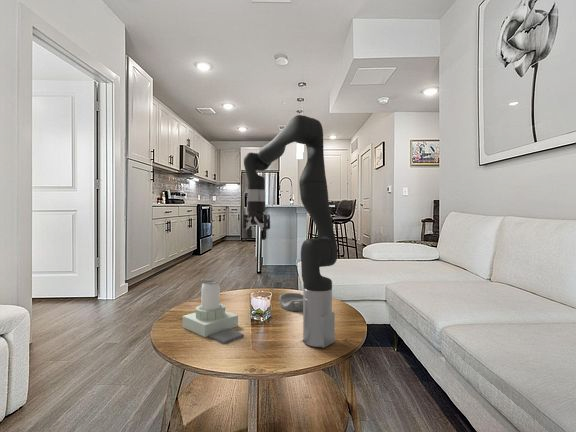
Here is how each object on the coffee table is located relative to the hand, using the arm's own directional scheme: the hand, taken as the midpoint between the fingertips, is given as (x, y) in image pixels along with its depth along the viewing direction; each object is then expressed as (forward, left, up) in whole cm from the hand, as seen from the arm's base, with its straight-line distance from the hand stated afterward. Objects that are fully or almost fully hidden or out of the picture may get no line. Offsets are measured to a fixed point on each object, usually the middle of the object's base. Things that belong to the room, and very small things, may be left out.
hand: (256, 239), depth 132 cm
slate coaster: (-14, +26, -30) cm, 42 cm away
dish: (-9, -15, -30) cm, 35 cm away
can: (-2, +24, -26) cm, 36 cm away
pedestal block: (-2, +24, -30) cm, 39 cm away
